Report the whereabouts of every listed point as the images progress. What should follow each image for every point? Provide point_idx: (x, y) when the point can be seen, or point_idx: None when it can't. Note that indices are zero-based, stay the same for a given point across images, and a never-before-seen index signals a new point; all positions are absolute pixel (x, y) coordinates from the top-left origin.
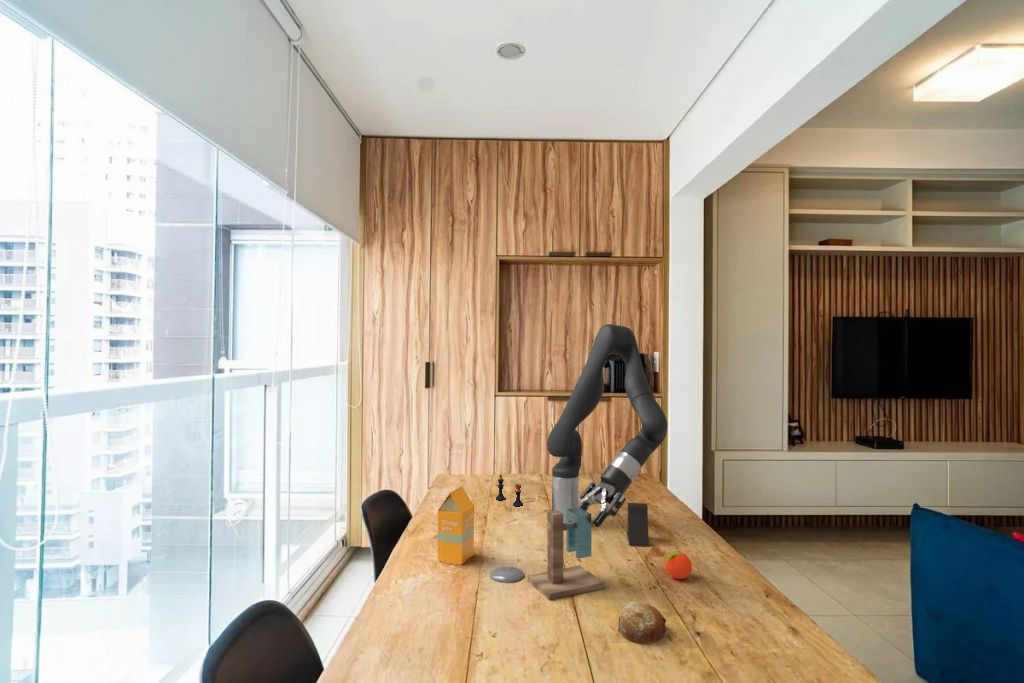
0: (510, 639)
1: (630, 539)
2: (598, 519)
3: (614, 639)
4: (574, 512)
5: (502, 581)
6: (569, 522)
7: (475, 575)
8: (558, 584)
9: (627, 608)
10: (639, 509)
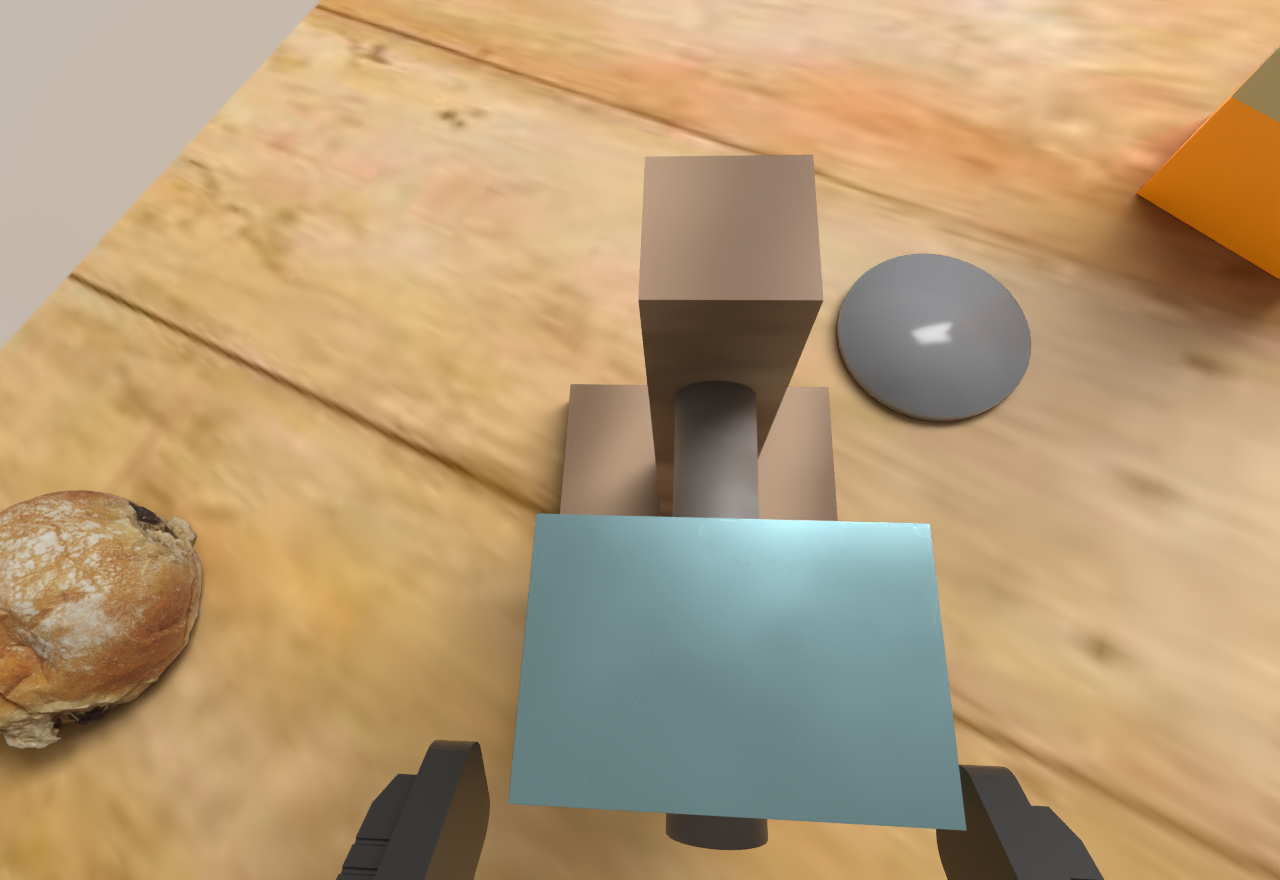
0: (395, 149)
1: None
2: (375, 837)
3: (148, 464)
4: (709, 553)
5: (854, 284)
6: (719, 507)
7: (983, 211)
8: (648, 481)
9: (41, 529)
10: None
